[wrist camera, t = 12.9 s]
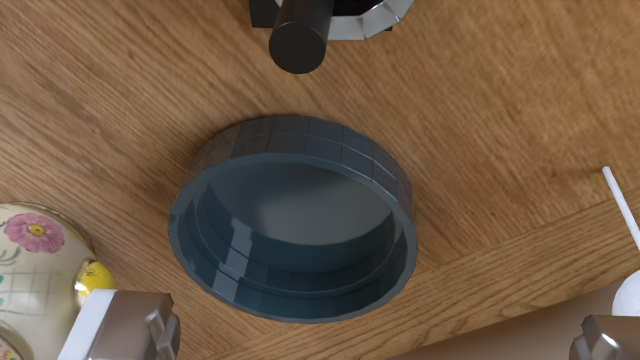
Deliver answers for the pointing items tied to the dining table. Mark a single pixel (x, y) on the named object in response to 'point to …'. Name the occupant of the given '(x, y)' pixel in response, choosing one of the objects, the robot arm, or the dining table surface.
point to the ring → (364, 17)
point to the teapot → (43, 280)
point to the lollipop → (636, 291)
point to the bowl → (295, 221)
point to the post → (296, 31)
